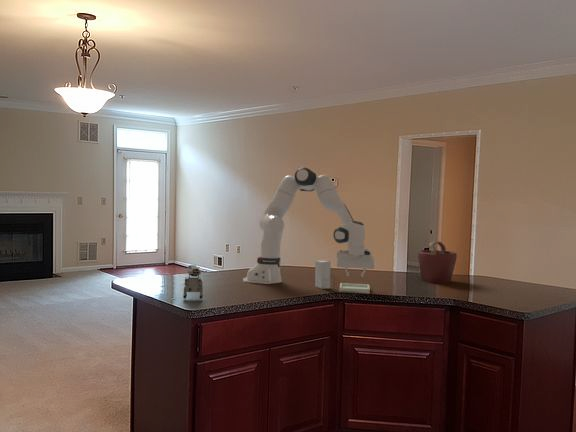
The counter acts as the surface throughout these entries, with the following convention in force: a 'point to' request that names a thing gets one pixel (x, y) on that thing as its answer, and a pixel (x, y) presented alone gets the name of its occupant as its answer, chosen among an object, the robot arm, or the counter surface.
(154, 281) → the counter surface
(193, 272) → the figurine
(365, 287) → the sage tray
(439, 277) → the bucket
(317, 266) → the skincare box
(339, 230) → the robot arm
